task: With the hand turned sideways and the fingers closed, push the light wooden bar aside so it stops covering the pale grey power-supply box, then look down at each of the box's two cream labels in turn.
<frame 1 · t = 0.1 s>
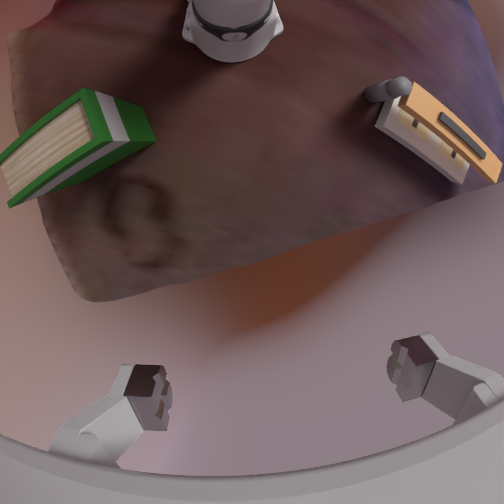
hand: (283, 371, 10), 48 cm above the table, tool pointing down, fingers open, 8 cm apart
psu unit: (426, 132, 52), on the table
light wooden bar: (455, 134, 42), point 10 cm above the table, hinge at 0.0°
hardback book: (111, 145, 50), on the table
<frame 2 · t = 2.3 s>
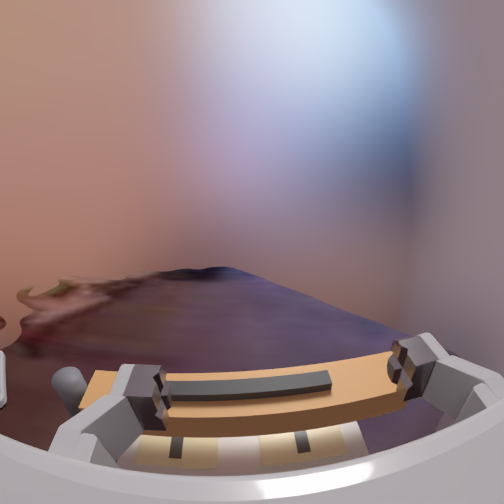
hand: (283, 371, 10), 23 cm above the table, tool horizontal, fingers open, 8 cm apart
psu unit: (241, 457, 26), on the table
light wooden bar: (230, 404, 22), point 11 cm above the table, hinge at 0.0°
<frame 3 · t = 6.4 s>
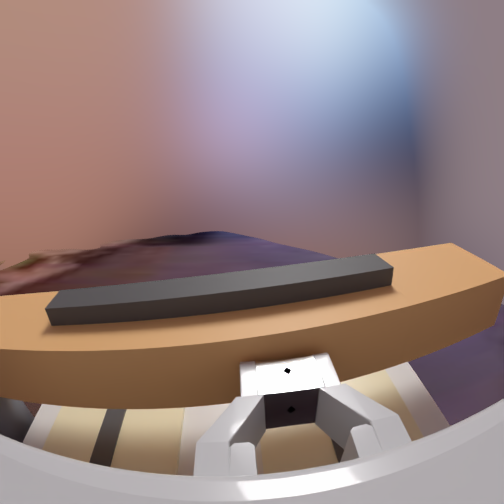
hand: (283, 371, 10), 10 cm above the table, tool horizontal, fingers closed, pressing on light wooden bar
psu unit: (229, 473, 14), on the table
light wooden bar: (194, 331, 11), point 10 cm above the table, hinge at 4.9°, touching gripper
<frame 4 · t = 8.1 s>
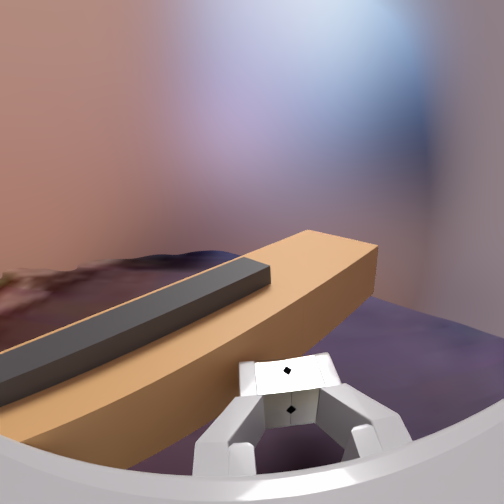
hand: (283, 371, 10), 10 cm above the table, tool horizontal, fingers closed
light wooden bar: (91, 388, 8), point 10 cm above the table, hinge at 40.1°, touching gripper
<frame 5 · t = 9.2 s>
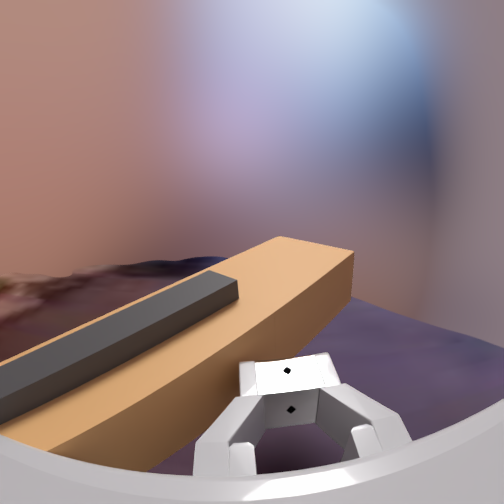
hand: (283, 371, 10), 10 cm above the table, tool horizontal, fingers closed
light wooden bar: (55, 417, 7), point 10 cm above the table, hinge at 45.4°, touching gripper
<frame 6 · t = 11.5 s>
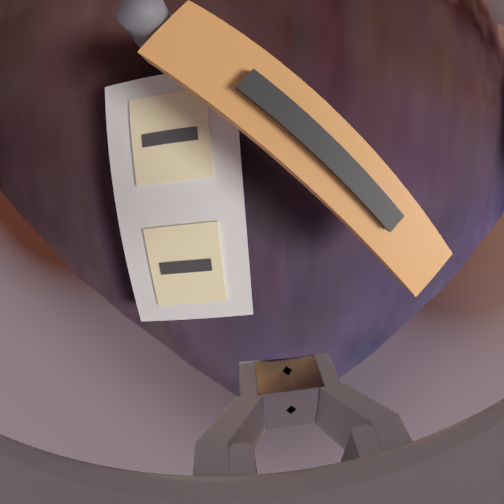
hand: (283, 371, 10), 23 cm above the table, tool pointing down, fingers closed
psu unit: (184, 196, 30), on the table
light wooden bar: (307, 145, 19), point 10 cm above the table, hinge at 45.4°
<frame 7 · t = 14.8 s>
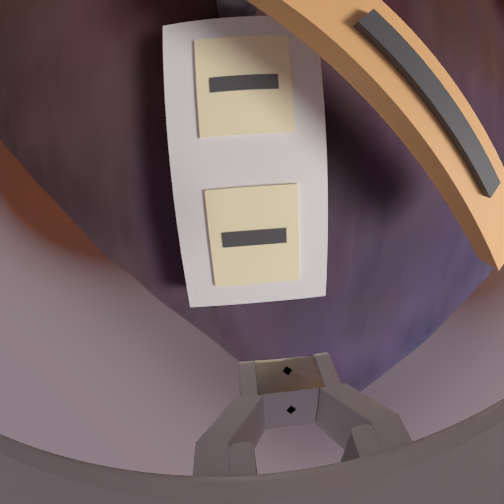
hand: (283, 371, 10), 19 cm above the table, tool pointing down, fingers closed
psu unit: (247, 157, 25), on the table
light wooden bar: (417, 99, 14), point 10 cm above the table, hinge at 45.4°
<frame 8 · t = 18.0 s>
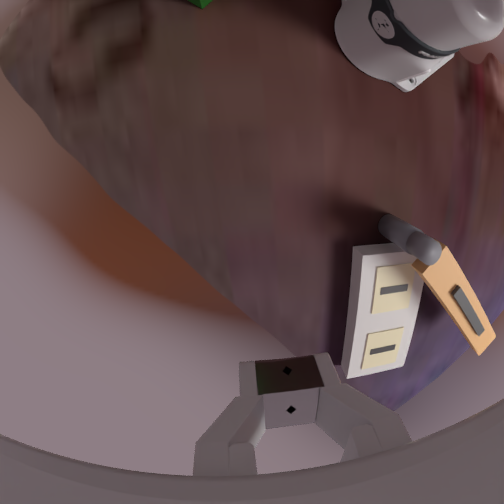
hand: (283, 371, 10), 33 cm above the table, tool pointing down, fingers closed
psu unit: (378, 308, 48), on the table
light wooden bar: (461, 307, 37), point 11 cm above the table, hinge at 45.4°
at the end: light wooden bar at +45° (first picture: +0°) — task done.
